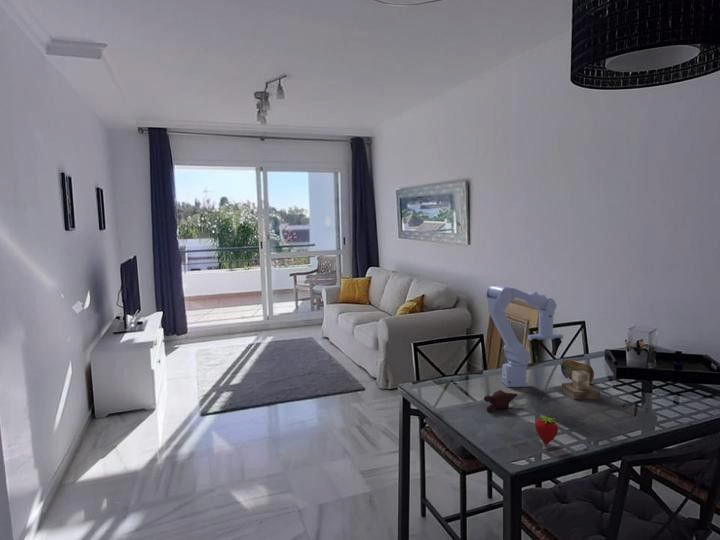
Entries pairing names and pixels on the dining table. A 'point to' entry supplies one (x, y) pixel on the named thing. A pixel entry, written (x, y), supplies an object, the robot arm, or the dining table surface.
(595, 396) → the plinth
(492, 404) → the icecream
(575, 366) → the tin
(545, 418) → the strawberry
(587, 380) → the birch block
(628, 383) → the dining table surface
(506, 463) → the dining table surface
